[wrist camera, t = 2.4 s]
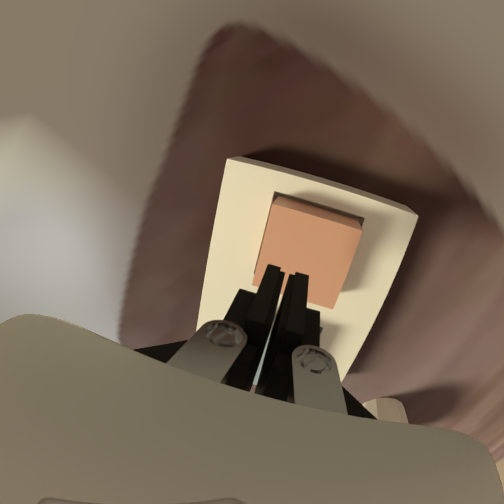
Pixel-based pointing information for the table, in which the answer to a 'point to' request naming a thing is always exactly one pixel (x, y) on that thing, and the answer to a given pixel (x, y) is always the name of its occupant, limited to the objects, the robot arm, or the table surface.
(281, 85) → the table surface
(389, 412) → the shot glass
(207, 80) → the table surface
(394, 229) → the board
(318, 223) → the key terracotta
